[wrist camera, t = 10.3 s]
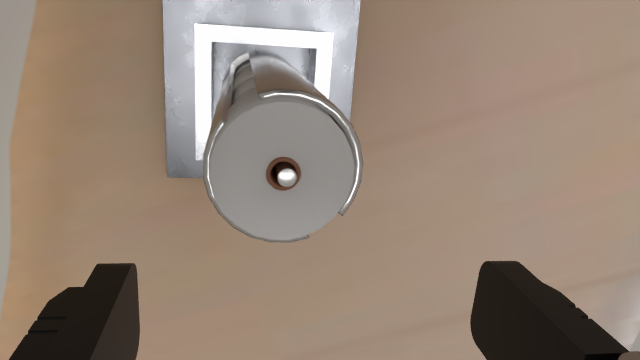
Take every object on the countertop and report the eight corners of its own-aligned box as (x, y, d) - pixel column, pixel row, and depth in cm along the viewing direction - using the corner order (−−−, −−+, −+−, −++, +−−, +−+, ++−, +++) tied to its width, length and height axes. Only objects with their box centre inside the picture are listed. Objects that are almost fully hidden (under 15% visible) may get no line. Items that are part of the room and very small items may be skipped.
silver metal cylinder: (227, 128, 43) (210, 263, 19) (218, 52, 41) (189, 99, 17) (300, 123, 44) (371, 245, 20) (296, 47, 42) (369, 86, 18)
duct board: (164, -16, 40) (153, -21, 35) (357, -1, 42) (372, -3, 37) (169, 173, 44) (160, 192, 40) (341, 176, 47) (353, 195, 42)
